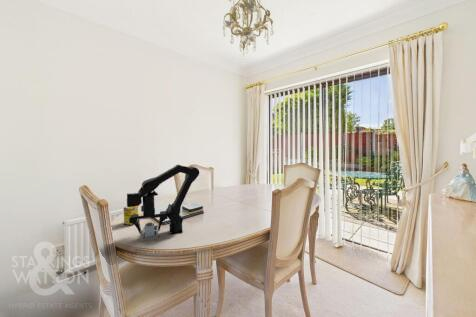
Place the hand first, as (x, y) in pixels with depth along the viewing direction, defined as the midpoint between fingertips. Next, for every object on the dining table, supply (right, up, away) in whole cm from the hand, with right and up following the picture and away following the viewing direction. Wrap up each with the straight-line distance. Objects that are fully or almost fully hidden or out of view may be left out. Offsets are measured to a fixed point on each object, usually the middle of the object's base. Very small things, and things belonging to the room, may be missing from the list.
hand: (149, 232), depth 113 cm
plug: (0, -3, 0) cm, 3 cm away
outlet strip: (-1, -2, +4) cm, 5 cm away
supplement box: (-19, -1, +18) cm, 26 cm away
